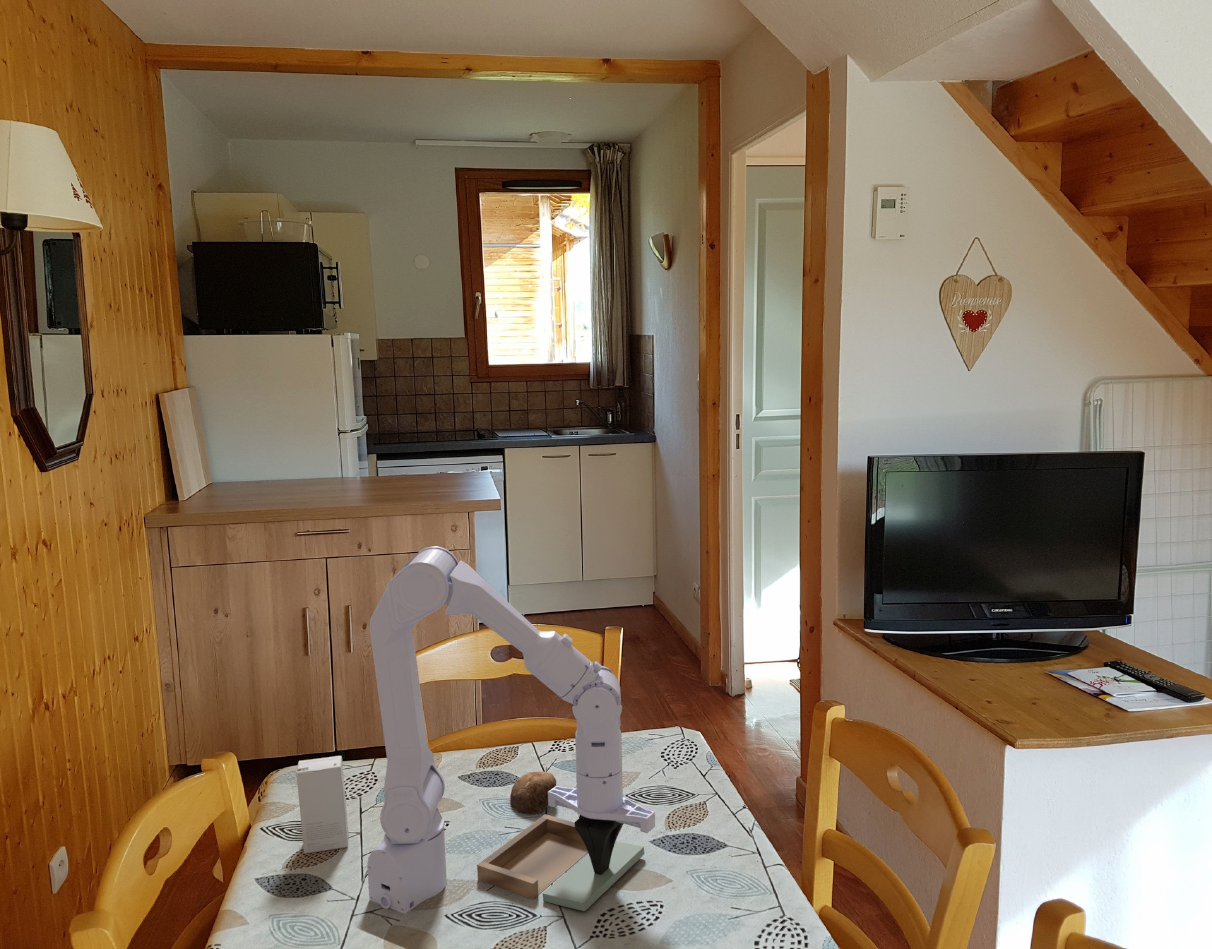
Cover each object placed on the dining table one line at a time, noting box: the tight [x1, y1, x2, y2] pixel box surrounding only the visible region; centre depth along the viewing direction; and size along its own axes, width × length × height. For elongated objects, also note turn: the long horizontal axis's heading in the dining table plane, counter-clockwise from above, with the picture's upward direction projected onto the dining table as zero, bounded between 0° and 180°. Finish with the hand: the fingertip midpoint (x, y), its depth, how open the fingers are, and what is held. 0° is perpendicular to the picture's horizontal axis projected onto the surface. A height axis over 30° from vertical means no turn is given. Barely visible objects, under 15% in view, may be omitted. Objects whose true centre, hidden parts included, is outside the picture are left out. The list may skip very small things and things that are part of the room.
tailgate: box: [541, 840, 645, 912], centre depth 119 cm, size 1×15×6 cm
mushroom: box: [509, 771, 557, 815], centre depth 140 cm, size 8×8×6 cm
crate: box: [476, 814, 588, 900], centre depth 124 cm, size 9×15×4 cm, turn 149°
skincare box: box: [295, 755, 350, 854], centre depth 132 cm, size 6×4×12 cm
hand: (601, 870), depth 119 cm, fingers closed
